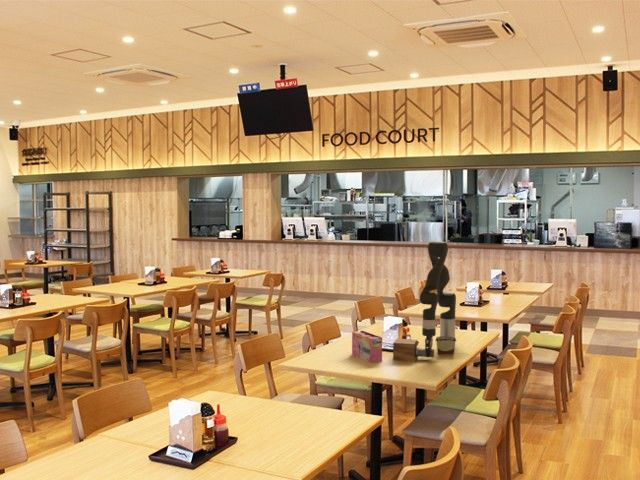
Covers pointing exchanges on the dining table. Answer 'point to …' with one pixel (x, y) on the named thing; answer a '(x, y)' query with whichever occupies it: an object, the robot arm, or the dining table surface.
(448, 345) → the food container
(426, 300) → the robot arm
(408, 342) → the housing
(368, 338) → the gum box
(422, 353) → the grey capped rod
